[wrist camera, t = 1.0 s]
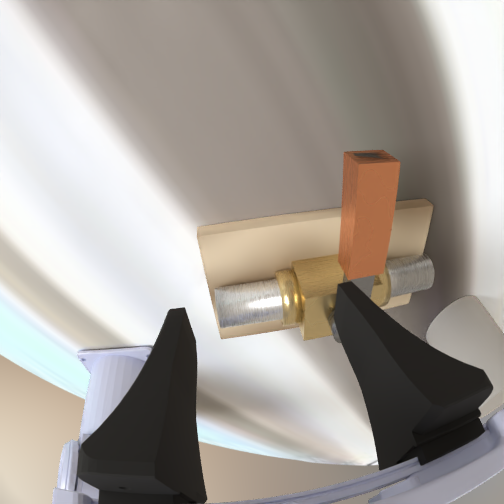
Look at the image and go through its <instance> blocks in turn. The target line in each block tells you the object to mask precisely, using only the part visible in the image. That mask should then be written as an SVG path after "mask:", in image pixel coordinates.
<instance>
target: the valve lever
mask: <svg viewBox="0 0 504 504" xmlns="http://www.w3.org/2000/svg"><path fill="white" fill-rule="evenodd" d="M399 171H400V161H398V160H397V159H395V158H394V157H393V156H391V155H390V154H388V153H387V152H385V151H384V150H369V151H350V152H344V164H343V191H342V210H341V226H340V240H339V253H338V262H339V264H340V266H341V268H342V270H343V271H344V276H343V283H345V282H350V281H352V282H353V283H354V284H355V285H356V286H357V287H358V288H359V289H360V290H361V291H363V292H364V293H365V294H366V295H367V296H368V297H369V298H371V294H372V289H373V284H374V279H375V275H378V274H383V273H384V268H385V263H386V258H387V253H388V247H389V242H390V236H391V230H392V224H393V217H394V210H395V203H396V196H397V188H398V180H399ZM334 311H335V309H334V310H333V311H332V312H331V313H330V315H329V317H328V324H329V326H330V329H331V331H332V334H333V336H334V339H335V341H336V342H338V343H341V340H340V338H339V335H338V331H337V328H336V325H335V321H334Z"/></svg>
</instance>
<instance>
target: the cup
mask: <svg viewBox="0 0 504 504" xmlns="http://www.w3.org/2000/svg"><path fill="white" fill-rule="evenodd" d="M426 339H427V341H428V343H429V345H430V346H432V347H434V348H436V349H437V350H439V351H441V352H443V353H445V354H447V355H449V356H451V357H453V358H455V359H457V360H459V361H462V362H464V363H467V364H469V365H472V366H475V367H477V368H480V369H483V370H484V371H485V373H486V374H487V376H488V378H489V380H490V381H491V383H492V385H493V391H492V393H491V394H490V396H489V397H488V398H487V399H486V400H485V402H484V403H483V404H482V405H481V406H480V407H479V410H480V412H481V416H480V417H479V419H480V418H482V417H484V416H486V415H487V414H489V413H491V412H492V411H494V410H495V409H497V408H498V407H499V406H501V405H502V404H503V403H504V333H503V332H502V331H501V329H500V328H499V326H498V325H497V324H496V322H495V321H494V320H493V318H492V317H491V315H490V314H489V313H488V311H487V310H486V309H485V307H484V306H483V305H482V304H481V302H480V301H479V300H478V298H477V297H475V296H471V295H470V296H465V297H462V298H460V299H458V300H456V301H454V302H453V303H451V304H450V305H448V306H447V307H446V308H445V309H443V310H442V311H441V312H440V313H439V314H438V315H437V317H436V318H435V319H434V320H433V322H432V323H431V325H430V326H429V328H428V330H427V334H426Z"/></svg>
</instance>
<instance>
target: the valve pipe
mask: <svg viewBox="0 0 504 504" xmlns="http://www.w3.org/2000/svg"><path fill="white" fill-rule="evenodd" d="M343 276H344V271H343V270H342V268H341V266H340V264H339V262H338V254H334V255H328V256H322V257H315V258H309V259H302V260H296V261H291V269H289V270H283V271H276V272H275V279H272V280H266V281H259V282H253V283H246V284H239V285H232V286H225V287H218V288H215V302H216V309H217V315H218V320H219V324H220V328H228V327H235V326H242V325H248V324H255V323H261V322H268V321H274V320H281V323H282V325H283V326H288V325H294V324H299V327H300V331H301V334H302V337H303V340H304V341H305V340H310V339H315V338H320V337H325V336H330V335H333V334H332V331H331V329H330V326H329V324H328V317H329V315H330V313H331V312H332V311H333V310H334V309H335V303H336V294H337V285H338V284H339V283H343ZM433 282H434V267H433V264H432V261H431V260H430V258H429V257H428V256H427V255H426V254H418V255H412V256H407V257H402V258H396V259H391V260H386V263H385V268H384V273H383V274H378V275H375V279H374V284H373V289H372V294H371V298H370V299H371V300H372V301H373V302H374V303H375V304H376V305H378V306H379V307H382V306H386V305H387V304H388V302H389V300H390V298H391V297H396V296H400V295H404V294H408V293H413V292H417V291H421V290H425V289H429V288H430V287H431V286H432V285H433Z"/></svg>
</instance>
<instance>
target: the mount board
mask: <svg viewBox="0 0 504 504" xmlns="http://www.w3.org/2000/svg"><path fill="white" fill-rule="evenodd" d="M341 210H342V207H341V208H333V209H324V210H316V211H308V212H301V213H293V214H285V215H278V216H270V217H263V218H256V219H249V220H241V221H235V222H228V223H221V224H214V225H207V226H201V227H197V239H198V244H199V248H200V253H201V257H202V262H203V266H204V271H205V275H206V279H207V284H208V288H209V292H210V296H211V300H212V305H213V309H214V313H215V317H216V321H217V325H218V329H219V333H220V337H221V339H226V338H234V337H240V336H247V335H254V334H260V333H267V332H273V331H279V330H285V329H290V328H296V327H299V324H294V325H288V326H283V325H282V323H281V320H274V321H268V322H261V323H255V324H248V325H242V326H235V327H228V328H220V324H219V320H218V315H217V309H216V302H215V288H218V287H225V286H232V285H239V284H246V283H253V282H259V281H266V280H272V279H275V272H276V271H283V270H289V269H291V261H296V260H302V259H309V258H315V257H322V256H328V255H334V254H338V253H339V240H340V226H341ZM432 211H433V205H432V204H431V203H430V202H429V201H427V200H426V199H415V200H405V201H396V203H395V210H394V217H393V224H392V230H391V236H390V242H389V247H388V253H387V258H386V260H391V259H396V258H402V257H407V256H412V255H418V254H423V251H424V247H425V243H426V238H427V234H428V230H429V225H430V221H431V216H432ZM411 294H412V293H408V294H404V295H400V296H396V297H391V298H390V300H389V302H388V304H387V305H386V306H382V307H380V308H381V309H382V310H383V309H388V308H392V307H396V306H400V305H404V304H408V303H409V300H410V297H411Z"/></svg>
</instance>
